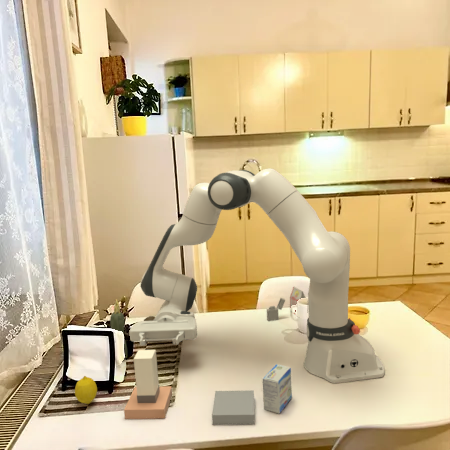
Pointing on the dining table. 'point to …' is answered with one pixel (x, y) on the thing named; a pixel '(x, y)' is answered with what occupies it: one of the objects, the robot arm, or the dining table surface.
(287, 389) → the medicine box
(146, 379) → the banded sleeve
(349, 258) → the robot arm
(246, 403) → the slate stand
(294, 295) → the tea bag
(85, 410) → the dining table surface
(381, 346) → the dining table surface
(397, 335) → the dining table surface
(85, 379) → the fruit
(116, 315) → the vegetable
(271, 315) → the lighter
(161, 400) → the terracotta stand
